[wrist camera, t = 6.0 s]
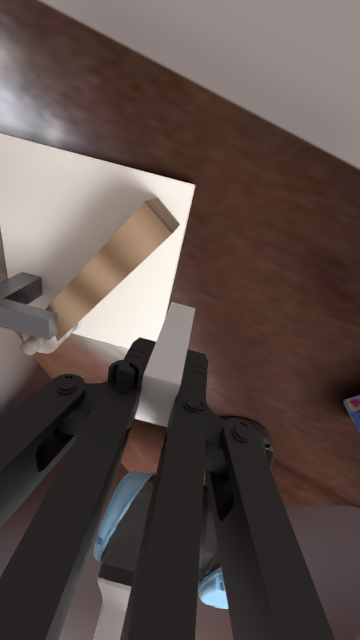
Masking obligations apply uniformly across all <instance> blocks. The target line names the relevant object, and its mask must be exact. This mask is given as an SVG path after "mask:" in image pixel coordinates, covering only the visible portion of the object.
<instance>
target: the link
mask: <svg viewBox="0 0 360 640" xmlns="http://www.w3.org/2000/svg"><path fill="white" fill-rule="evenodd" d="M179 225H180V224H179V222H178V221H177V220H176V219H175V218H174V216H173V215H172V214H171V213H170V212H169V210H168V209H167V208H166V207H165V206H164V204H163V203H162V202H161V201H160V200H159V198H158V197H157V198H154V199H151V200H147V201H144V202H143V203H142V205H141V206H140V207H139V208H138V209H137V210H136V211H135V212H134V213H133V214H132V215H131V217H130V218H129V219H128V220H127V221H126V222H125V223H124V224H123V225H122V226H121V227H120V229H119V230H118V231H117V232H116V233H115V234H114V235H113V236H112V237H111V238H110V239H109V241H108V242H107V243H106V244H105V245H104V246H103V247H102V248H101V249H100V250H99V251H98V253H97V254H96V255H95V256H94V257H93V258H92V259H91V260H90V261H89V262H88V263H87V265H86V266H85V267H84V268H83V269H82V270H81V271H80V272H79V273H78V274H77V275H76V277H75V278H74V279H73V280H72V281H71V282H70V283H69V284H68V285H67V286H66V287H65V289H64V290H63V291H62V292H61V293H60V294H59V295H58V296H57V297H56V298H55V299H54V301H53V302H52V303H51V304H50V305H49V306H48V307H47V308H46V309H45V310H48V311H52V312H56V313H57V321H58V333H57V334H56V335H55V336H54V337H53V338H52V339H51V340H47V339H44V338H40V337H36V336H32V335H29V334H25V333H22V335H21V337H23V339H24V342H23V343H22V344H21V346H20V347H21V350H22V351H23V352H24V353H25V354H28V355H33V354H35V353H36V352H40V353H43V354H45V353H52V352H53V351H55V350H56V349H57V348H58V346H59V345H60V344H61V343H62V342H63V341H64V340H65V339H66V338H67V337H68V336H69V335H70V334H71V333H72V332H73V331H74V330H75V329H76V328H77V326H78V322H79V321H80V320H81V319H82V318H83V317H84V316H86V315H87V314H88V313H89V312H90V311H91V310H92V309H93V308H94V307H95V306H96V305H97V304H98V303H99V302H100V301H101V300H102V299H104V298H105V297H106V296H107V295H108V294H109V293H110V292H111V291H112V290H113V289H114V288H115V287H116V286H117V285H118V284H119V283H121V282H122V281H123V280H124V279H125V278H126V277H127V276H128V275H129V274H130V273H131V272H132V271H133V270H134V269H135V268H136V267H138V266H139V265H140V264H141V263H142V262H143V261H144V260H145V259H146V258H147V257H148V256H149V255H150V254H151V253H152V252H153V251H154V250H156V249H157V248H158V247H159V246H160V245H161V244H162V243H163V242H164V241H165V240H166V239H167V238H168V237H169V236H170V235H171V234H172V233H173V232H174V231H175V230H176V229H177V228H178V226H179Z"/></svg>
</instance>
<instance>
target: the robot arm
mask: <svg viewBox="0 0 360 640" xmlns="http://www.w3.org/2000/svg"><path fill="white" fill-rule="evenodd" d="M194 312H195V308H192V307H188V306H184V305H180V304H177V303H173V302H172V303H171V305H170V308H169V311H168V313H167V316H166V318H165V321H164V323H163V326H162V329H161V331H160V334H159V336H158V339H157V341H152V340H148V339H144V338H141V337H139V338H138V339H137V340H135V341H134V342H133V343H132V345H131V347H130V349H129V350H128V352H127V355H126V356H125V358H124V360H119V361H116V362H114V363H112V364H111V365H110V367H109V373H108V381H107V382H103V383H97V384H85V382H84V380H83V379H82V378H81V377H80V376H77V375H74V374H64V375H60V376H58V377H56V378H54V379H53V380H52V381H50V382H49V383H48V384H46V385H45V386H44V387H43V388H41V389H40V390H39V391H37V392H36V393H35V394H34V395H32V396H31V397H30V398H28V399H27V400H26V401H25V402H23V403H22V404H21V405H20V406H18V407H17V408H16V409H15V410H13V411H12V412H11V413H9V414H8V415H7V416H5V417H4V418H3V419H2V420H0V528H1V527H2V526H3V524H5V522H6V521H7V520H8V519H9V518H10V517H11V515H12V514H13V513H14V512H15V511H16V510H17V509H18V507H19V506H20V505H21V504H22V503H23V502H24V500H25V499H26V498H27V497H28V496H29V495H30V493H31V492H32V491H33V490H34V489H35V488H36V487H37V485H38V484H39V483H40V482H41V481H42V479H43V478H44V477H45V476H46V475H47V474H48V473H49V471H50V470H51V469H52V468H53V467H54V466H55V464H56V463H57V462H58V461H59V460H60V459H61V458H62V456H63V455H64V454H65V453H66V452H67V451H68V449H69V448H70V447H71V446H72V445H73V446H72V448H71V450H70V451H69V453H68V455H67V457H66V459H65V461H64V463H63V465H62V466H61V468H60V470H59V472H58V474H57V475H56V477H55V479H54V481H53V483H52V485H51V486H50V488H49V490H48V492H47V493H46V496H45V497H44V499H43V501H42V503H41V504H40V506H39V508H38V510H37V512H36V514H35V516H34V517H33V519H32V521H31V523H30V525H29V526H28V528H27V530H26V532H25V534H24V535H23V537H22V539H21V541H20V543H19V545H18V546H17V548H16V550H15V552H14V554H13V556H12V557H11V559H10V561H9V563H8V565H7V567H6V568H5V570H4V572H3V574H2V576H1V577H0V640H58V639H59V636H60V633H61V630H62V627H63V625H64V621H65V619H66V616H67V613H68V610H69V607H70V605H71V601H72V599H73V596H74V593H75V590H76V587H77V584H78V581H79V579H80V576H81V573H82V570H83V567H84V564H85V562H86V558H87V556H88V553H89V550H90V547H91V544H92V541H93V538H94V536H95V533H96V530H97V527H98V524H99V521H100V518H101V516H102V513H103V510H104V507H105V504H106V501H107V498H108V496H109V493H110V490H111V487H112V484H113V481H114V478H115V476H116V473H117V470H118V467H119V464H120V461H121V458H122V455H123V453H124V450H125V447H126V444H127V441H128V438H129V435H130V433H131V429H132V424H133V421H134V418H135V419H138V420H142V421H146V422H149V423H153V424H157V425H160V426H164V427H167V430H166V434H165V437H164V440H163V443H162V446H161V454H160V459H159V463H158V468H157V472H156V474H155V473H143V472H136V471H134V472H130V473H128V474H127V475H126V476H125V477H124V478H123V479H122V480H121V482H120V483H119V485H118V487H117V488H116V490H115V492H114V494H113V496H112V498H111V500H110V503H109V505H108V508H107V510H106V512H105V515H104V517H103V520H102V523H101V526H100V529H99V532H98V537H97V540H96V543H95V546H94V557H95V558H96V559H97V561H98V562H102V564H101V568H100V572H99V575H98V579H97V581H98V584H99V587H100V590H101V593H102V596H103V604H102V608H101V612H100V616H99V620H98V624H97V627H96V631H95V635H94V639H93V640H195V626H196V608H197V591H198V592H199V595H200V599H201V601H202V602H204V603H205V604H207V605H212V606H213V607H217V608H223V609H229V615H230V621H231V626H232V632H233V638H234V640H335V639H334V636H333V634H332V631H331V628H330V625H329V623H328V620H327V618H326V615H325V613H324V610H323V607H322V604H321V602H320V600H319V597H318V594H317V591H316V589H315V586H314V583H313V581H312V578H311V575H310V573H309V570H308V568H307V565H306V562H305V560H304V557H303V554H302V552H301V549H300V546H299V544H298V541H297V539H296V536H295V534H294V531H293V528H292V525H291V523H290V520H289V518H288V515H287V512H286V510H285V507H284V504H283V502H282V499H281V496H280V494H279V491H278V489H277V486H276V483H275V481H274V478H273V475H272V473H271V471H272V464H273V458H274V446H273V441H272V437H271V435H270V433H269V432H268V431H267V430H266V429H265V428H264V427H263V426H262V425H260V424H258V423H256V422H254V421H251V420H248V419H244V418H238V417H227V418H220V417H219V416H217V415H216V414H214V413H213V412H212V411H211V410H210V409H209V407H208V406H207V403H206V383H207V368H208V360H207V358H206V356H205V354H202V353H199V352H195V351H191V350H188V343H189V338H190V333H191V328H192V323H193V317H194ZM204 474H205V485H204ZM198 584H199V585H198Z"/></svg>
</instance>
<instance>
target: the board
mask: <svg viewBox="0 0 360 640" xmlns="http://www.w3.org/2000/svg"><path fill="white" fill-rule="evenodd" d="M194 189H195V184H191V183H187V182H183V181H180V180H176V179H172V178H168V177H164V176H161V175H157V174H153V173H149V172H146V171H142V170H138V169H134V168H130V167H127V166H123V165H119V164H115V163H112V162H108V161H104V160H100V159H96V158H93V157H89V156H85V155H81V154H78V153H74V152H70V151H66V150H62V149H59V148H55V147H51V146H47V145H44V144H40V143H36V142H32V141H28V140H25V139H21V138H17V137H13V136H10V135H6V134H2V133H0V228H1V234H2V241H3V248H4V255H5V261H6V268H7V275H8V278H10V277H13V276H15V275H17V274H19V273H21V272H25V273H28V274H32V275H36V276H40V277H41V278H42V292H43V295H41V296H40V297H38V298H37V299H35V300H34V301H32V302H31V303H29V304H28V305H30V306H33V307H37V308H41V309H44V310H45V309H46V308H47V307H48V306H49V305H50V304H51V303H52V302H53V301H54V299H55V298H56V297H57V296H58V295H59V294H60V293H61V292H62V291H63V290H64V289H65V287H66V286H67V285H68V284H69V283H70V282H71V281H72V280H73V279H74V278H75V277H76V275H77V274H78V273H79V272H80V271H81V270H82V269H83V268H84V267H85V266H86V265H87V263H88V262H89V261H90V260H91V259H92V258H93V257H94V256H95V255H96V254H97V253H98V251H99V250H100V249H101V248H102V247H103V246H104V245H105V244H106V243H107V242H108V241H109V239H110V238H111V237H112V236H113V235H114V234H115V233H116V232H117V231H118V230H119V229H120V227H121V226H122V225H123V224H124V223H125V222H126V221H127V220H128V219H129V218H130V217H131V215H132V214H133V213H134V212H135V211H136V210H137V209H138V208H139V207H140V206H141V205H142V203H143V202H144V201H147V200H151V199H154V198H157V197H158V198H159V200H160V201H161V202H162V203H163V204H164V206H165V207H166V208H167V209H168V210H169V212H170V213H171V214H172V215H173V216H174V218H175V219H176V220H177V221H178V222H179V224H180V225H179V226H178V228H177V229H176V230H175V231H174V232H173V233H172V234H171V235H170V236H169V237H168V238H167V239H166V240H165V241H164V242H163V243H162V244H161V245H160V246H159V247H158V248H157V249H156V250H154V251H153V252H152V253H151V254H150V255H149V256H148V257H147V258H146V259H145V260H144V261H143V262H142V263H141V264H140V265H139V266H138V267H136V268H135V269H134V270H133V271H132V272H131V273H130V274H129V275H128V276H127V277H126V278H125V279H124V280H123V281H122V282H121V283H119V284H118V285H117V286H116V287H115V288H114V289H113V290H112V291H111V292H110V293H109V294H108V295H107V296H106V297H105V298H104V299H102V300H101V301H100V302H99V303H98V304H97V305H96V306H95V307H94V308H93V309H92V310H91V311H90V312H89V313H88V314H87V315H86V316H84V317H83V318H82V319H81V320H80V321H79V322H78V326H77V328H76V329H75V330H74V331H73V332H72V333H73V334H77V335H81V336H84V337H88V338H92V339H95V340H99V341H103V342H107V343H110V344H114V345H118V346H121V347H125V348H129V349H130V347H131V345H132V343H133V342H134V341H135V340H137V339H138V338H139V337H141V338H144V339H148V340H152V341H157V339H158V336H159V334H160V331H161V329H162V326H163V323H164V321H165V317H166V313H167V308H168V304H169V299H170V295H171V291H172V286H173V282H174V277H175V273H176V269H177V264H178V260H179V255H180V251H181V247H182V242H183V238H184V233H185V229H186V224H187V220H188V216H189V211H190V207H191V202H192V198H193V194H194Z"/></svg>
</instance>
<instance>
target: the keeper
mask: <svg viewBox="0 0 360 640" xmlns="http://www.w3.org/2000/svg"><path fill="white" fill-rule="evenodd" d="M41 295H43V292H42V278H41V277H40V276H36V275H32V274H28V273H25V272H21V273H19V274H17V275H15V276H13V277H10V278H8V279H6V280H4V281H2V282H0V327H3V328H7V329H11V330H14V331H18V332H21V333H25V334H29V335H32V336H36V337H40V338H44V339H47V340H51V339H52V338H53V337H54V336H55V335H56V334H57V333H58V321H57V313H56V312H52V311H48V310H44V309H41V308H37V307H33V306H30V305H28V304H29V303H31V302H32V301H34V300H35V299H37V298H38V297H40V296H41Z"/></svg>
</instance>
